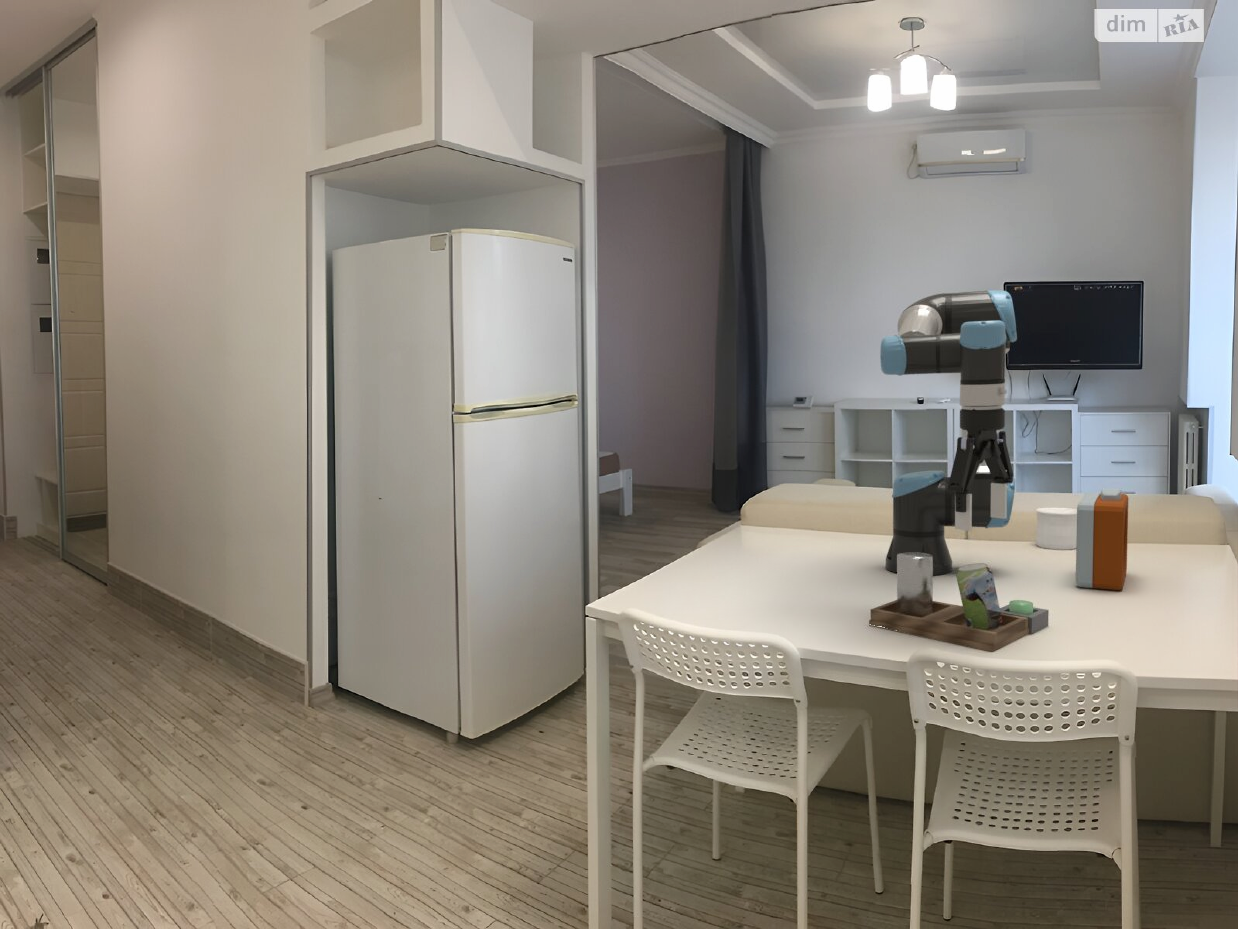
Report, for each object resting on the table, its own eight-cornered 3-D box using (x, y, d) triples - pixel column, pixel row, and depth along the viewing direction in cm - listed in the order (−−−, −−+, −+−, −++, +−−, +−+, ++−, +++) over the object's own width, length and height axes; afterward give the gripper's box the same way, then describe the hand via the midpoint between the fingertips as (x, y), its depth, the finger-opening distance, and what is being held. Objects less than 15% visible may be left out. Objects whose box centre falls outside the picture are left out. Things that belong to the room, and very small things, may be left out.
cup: (1085, 549, 229) (1086, 512, 228) (1046, 551, 229) (1046, 513, 228) (1067, 542, 238) (1068, 506, 237) (1029, 543, 238) (1030, 507, 237)
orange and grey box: (1122, 592, 187) (1124, 495, 184) (1075, 588, 191) (1076, 493, 189) (1126, 574, 202) (1128, 483, 200) (1083, 570, 207) (1084, 482, 205)
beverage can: (1006, 635, 156) (1003, 567, 156) (961, 635, 158) (958, 568, 157) (999, 625, 163) (996, 560, 162) (956, 626, 164) (953, 561, 163)
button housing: (993, 626, 166) (993, 611, 166) (1010, 618, 171) (1010, 603, 170) (1031, 634, 161) (1032, 617, 160) (1048, 625, 165) (1048, 609, 165)
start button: (1005, 626, 166) (1005, 603, 165) (1015, 622, 169) (1015, 599, 168) (1027, 631, 163) (1027, 606, 162) (1036, 626, 166) (1036, 602, 165)
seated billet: (890, 618, 170) (890, 556, 169) (908, 611, 175) (908, 550, 173) (921, 624, 166) (921, 560, 164) (939, 617, 170) (939, 555, 169)
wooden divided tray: (869, 625, 170) (869, 610, 169) (908, 610, 179) (908, 595, 179) (992, 651, 152) (993, 634, 152) (1029, 633, 161) (1029, 617, 161)
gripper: (968, 413, 150) (968, 537, 152) (1033, 402, 166) (1031, 515, 169) (927, 412, 155) (927, 532, 158) (994, 402, 172) (993, 511, 175)
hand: (981, 523), depth 163 cm, fingers open, 13 cm apart
